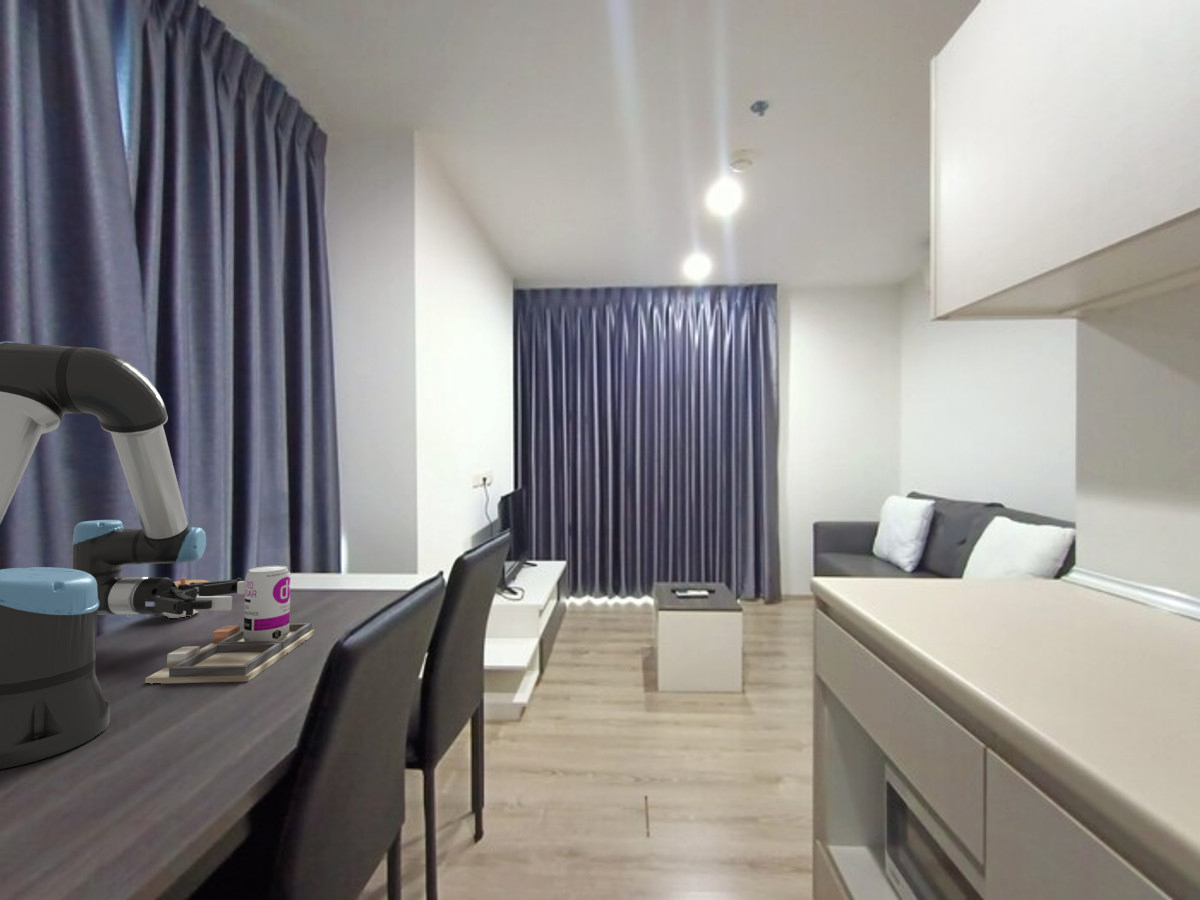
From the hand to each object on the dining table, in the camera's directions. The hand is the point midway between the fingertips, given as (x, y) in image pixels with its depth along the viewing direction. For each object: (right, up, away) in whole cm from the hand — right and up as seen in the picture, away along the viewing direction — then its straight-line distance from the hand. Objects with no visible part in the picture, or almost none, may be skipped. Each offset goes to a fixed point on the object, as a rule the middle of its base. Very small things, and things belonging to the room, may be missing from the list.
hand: (250, 594), depth 112 cm
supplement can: (+4, -10, 0) cm, 10 cm away
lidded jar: (-31, -11, +20) cm, 38 cm away
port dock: (+3, -10, -7) cm, 13 cm away
